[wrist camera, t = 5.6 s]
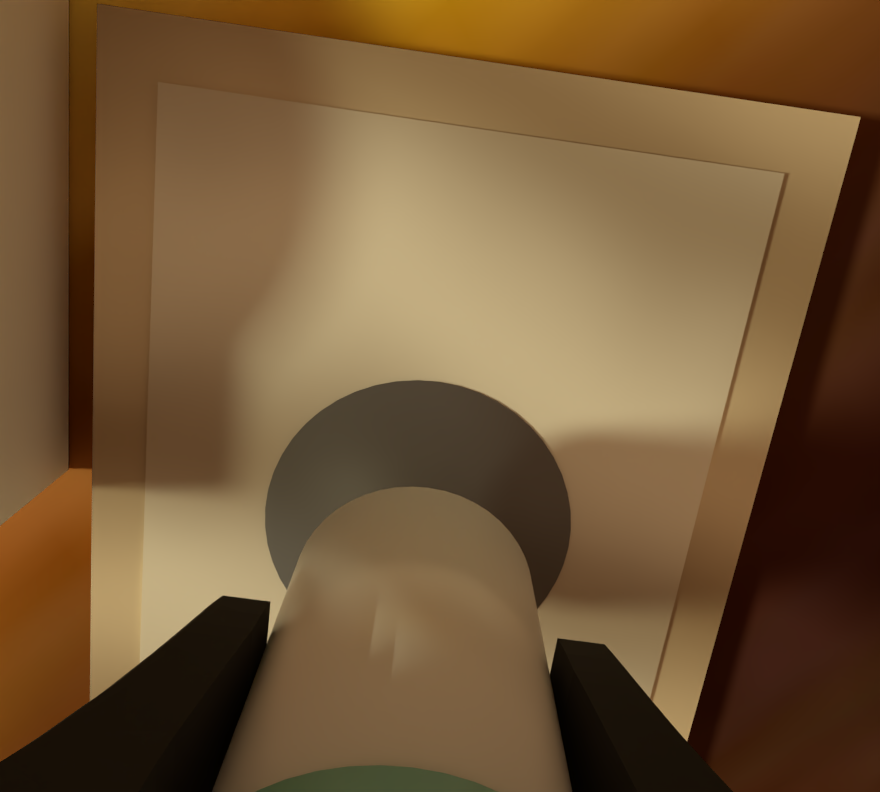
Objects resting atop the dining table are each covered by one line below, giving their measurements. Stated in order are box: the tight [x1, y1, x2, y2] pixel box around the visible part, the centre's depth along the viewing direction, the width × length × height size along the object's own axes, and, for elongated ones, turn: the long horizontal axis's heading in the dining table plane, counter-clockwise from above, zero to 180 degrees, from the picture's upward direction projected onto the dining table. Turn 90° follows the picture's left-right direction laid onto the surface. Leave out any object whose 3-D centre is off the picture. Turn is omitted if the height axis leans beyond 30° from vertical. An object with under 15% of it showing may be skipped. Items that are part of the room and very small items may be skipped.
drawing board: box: [90, 4, 861, 741], centre depth 15 cm, size 16×12×1 cm
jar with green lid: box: [212, 487, 572, 792], centre depth 8 cm, size 4×4×7 cm
